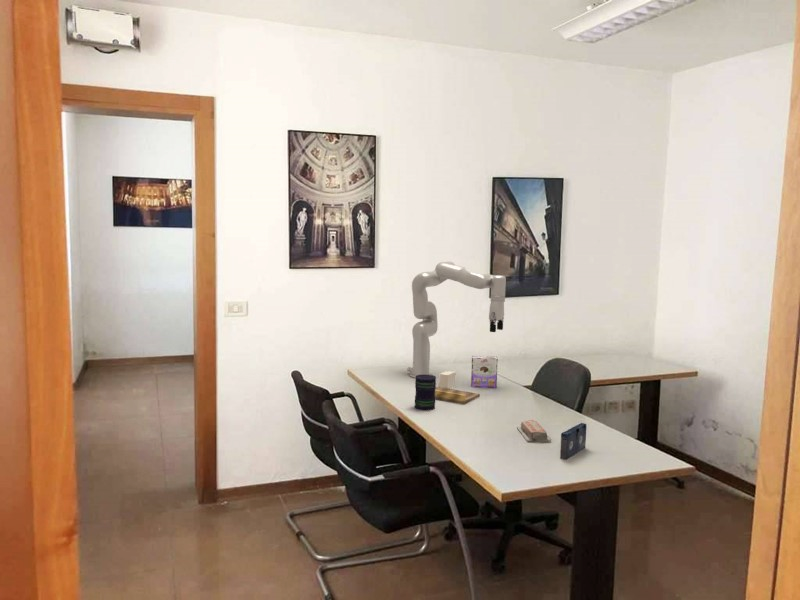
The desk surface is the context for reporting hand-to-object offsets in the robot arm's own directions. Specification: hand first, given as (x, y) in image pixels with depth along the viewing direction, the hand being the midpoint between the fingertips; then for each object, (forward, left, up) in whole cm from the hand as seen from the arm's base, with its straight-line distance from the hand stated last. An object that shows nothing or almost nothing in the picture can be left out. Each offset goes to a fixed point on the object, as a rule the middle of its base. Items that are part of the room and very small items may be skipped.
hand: (496, 330), depth 345 cm
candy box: (-6, 0, -32) cm, 32 cm away
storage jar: (-12, -55, -31) cm, 64 cm away
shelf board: (-11, -30, -31) cm, 45 cm away
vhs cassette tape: (+65, -76, -32) cm, 105 cm away
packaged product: (+45, -64, -32) cm, 85 cm away
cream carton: (-21, -14, -31) cm, 40 cm away
